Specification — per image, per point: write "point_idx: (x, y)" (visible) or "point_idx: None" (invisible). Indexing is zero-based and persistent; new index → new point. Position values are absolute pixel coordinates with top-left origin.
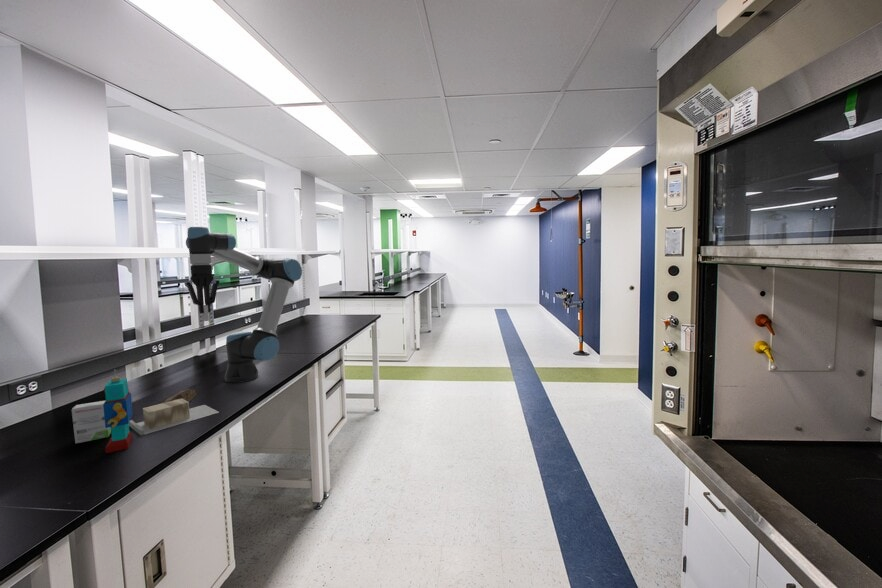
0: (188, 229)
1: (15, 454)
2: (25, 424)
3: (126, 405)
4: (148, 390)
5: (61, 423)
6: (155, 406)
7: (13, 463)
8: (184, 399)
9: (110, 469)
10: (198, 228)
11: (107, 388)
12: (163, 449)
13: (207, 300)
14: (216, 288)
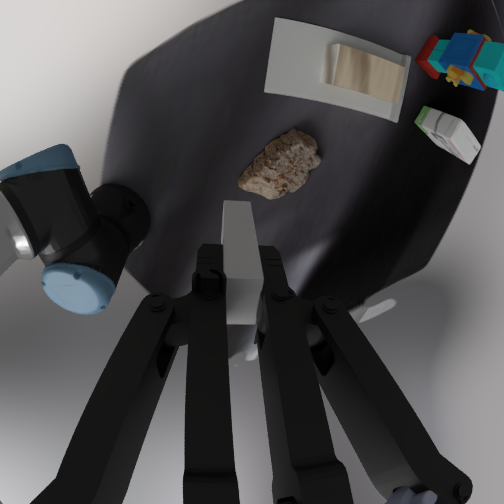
0: None
1: (471, 165)
2: (416, 265)
3: (476, 34)
4: None
5: (408, 232)
6: (383, 88)
7: (482, 138)
8: (289, 134)
9: (456, 7)
10: None
11: None
12: None
13: (221, 323)
14: (76, 448)
